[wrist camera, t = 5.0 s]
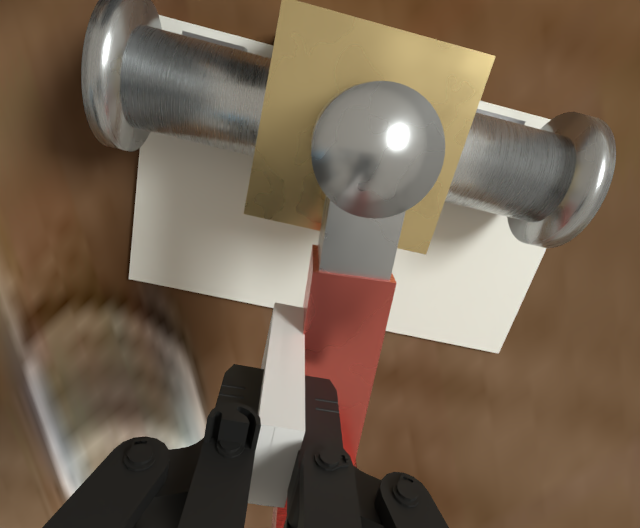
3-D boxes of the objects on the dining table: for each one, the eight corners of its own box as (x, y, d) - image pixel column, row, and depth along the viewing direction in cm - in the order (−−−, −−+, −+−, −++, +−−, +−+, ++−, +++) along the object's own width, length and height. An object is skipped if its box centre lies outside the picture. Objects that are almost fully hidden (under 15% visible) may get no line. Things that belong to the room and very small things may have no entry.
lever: (320, 74, 14) (326, 60, 9) (435, 93, 15) (515, 92, 9) (267, 458, 21) (250, 599, 15) (349, 466, 21) (364, 607, 15)
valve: (142, 150, 24) (47, 182, 16) (155, -8, 22) (50, -79, 13) (499, 234, 27) (593, 302, 18) (554, 101, 24) (696, 104, 15)
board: (131, 276, 27) (128, 278, 27) (153, 14, 22) (151, 12, 22) (496, 350, 30) (498, 353, 30) (594, 131, 25) (599, 132, 24)
